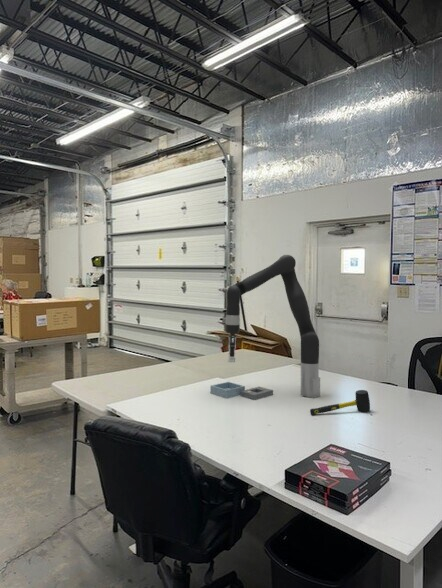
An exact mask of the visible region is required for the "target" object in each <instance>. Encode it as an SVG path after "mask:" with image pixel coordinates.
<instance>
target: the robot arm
mask: <svg viewBox="0 0 442 588" xmlns="http://www.w3.org/2000/svg"><path fill="white" fill-rule="evenodd" d="M296 273H297V272H296V259H295V257H293V255H290V254H283V255H282V256H280V257H279V258H278V259H277V260H276V261H275V262H273V263H272V264H271V265H268V266H267V267H266V268H264V269H261V270H259V271H257V272H255V273H253V274H251V275H249V276H247V277H245V278H244V279H243V280H241V281H239V282H237V283H235V284H233V285H231V286H229V287H228V288H227V290H226V310H225V311H226V315H225V333H226V334H229V335H228V346H229V345H230V357H234V350H235V351H236V349H235V345H236V346H237V344H236V341H237V335H236V334H239V333H240V328H241V317H240V316H241V315H240V314H241V312H240V310H241V309H240V304H241V303H240V302H241V296H242V295H244V294H246V293H248V292H251V291H253V290H255V289H257V288H258V287H261V286H262V285H264V284H265V283H267V282H268V281H270V280H272V279H274V278H275V277H277V276H281V280H282V281H283V284H284V288H285V295H286V297H287V301H288V304H289V308H290V311H291V313H292V316H293V318H294V319H295V322H296V324H297V327H298V331H299V335H300V396H302V397H304V398H313V399H314V398H317V397H320V396H321V377H320V376H319V375H320V373H319V372H320V371H319V368H320V367H319V366H320V365H319V364H320V361H319V360H320V359H319V358H320V339H319V336H318V334H317V333H316V330H315V328H314V326H313V322H312V320H311V313H310V307H309V304H308V300H307V298H306V294H305V292H304V290H303V288H302V286H301V284H300V281H298V277H297V274H296ZM231 345H234V347H231Z"/></svg>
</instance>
